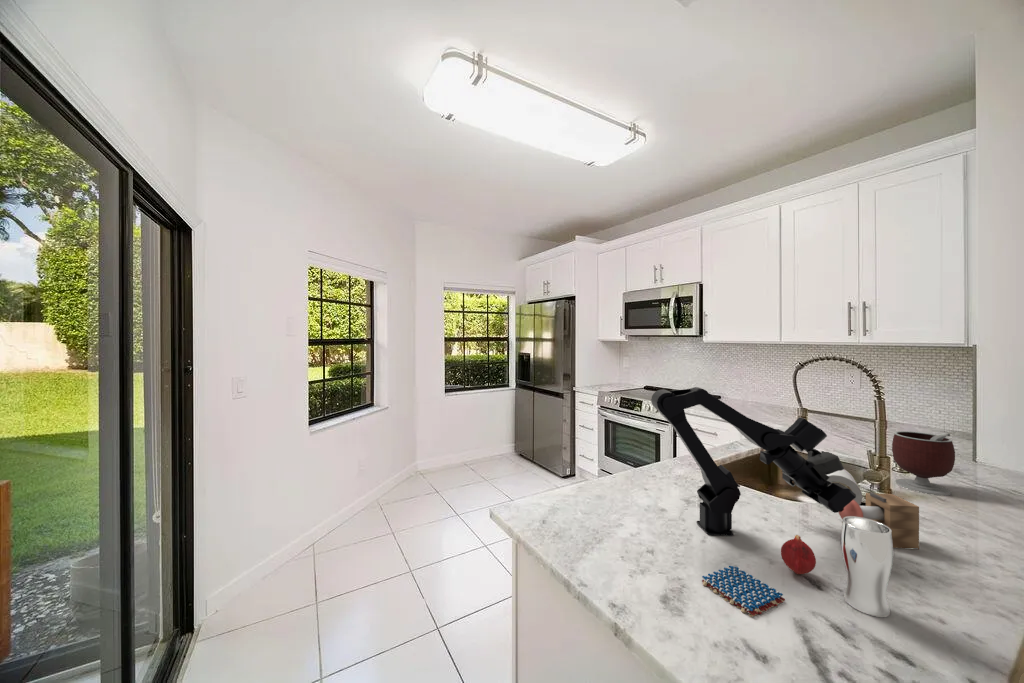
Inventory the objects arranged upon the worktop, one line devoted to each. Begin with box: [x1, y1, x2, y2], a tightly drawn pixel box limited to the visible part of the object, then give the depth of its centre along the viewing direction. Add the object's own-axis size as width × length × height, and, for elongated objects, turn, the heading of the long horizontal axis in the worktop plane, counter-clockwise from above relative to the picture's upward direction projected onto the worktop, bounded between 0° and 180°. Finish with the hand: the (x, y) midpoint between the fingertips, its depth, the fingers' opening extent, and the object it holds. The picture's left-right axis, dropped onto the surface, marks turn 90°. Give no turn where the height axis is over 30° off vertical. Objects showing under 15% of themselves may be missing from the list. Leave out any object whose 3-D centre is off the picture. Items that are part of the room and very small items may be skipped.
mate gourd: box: [891, 430, 956, 496], centre depth 121 cm, size 16×14×20 cm
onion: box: [780, 534, 817, 576], centre depth 77 cm, size 6×6×8 cm
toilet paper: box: [827, 468, 863, 506], centre depth 110 cm, size 10×10×10 cm
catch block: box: [865, 491, 920, 550], centre depth 90 cm, size 6×7×11 cm
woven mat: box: [701, 565, 786, 618], centre depth 72 cm, size 10×11×2 cm
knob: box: [838, 500, 885, 521], centre depth 91 cm, size 8×6×6 cm
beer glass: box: [840, 516, 894, 618], centre depth 68 cm, size 7×7×15 cm
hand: (841, 510), depth 91 cm, fingers closed
